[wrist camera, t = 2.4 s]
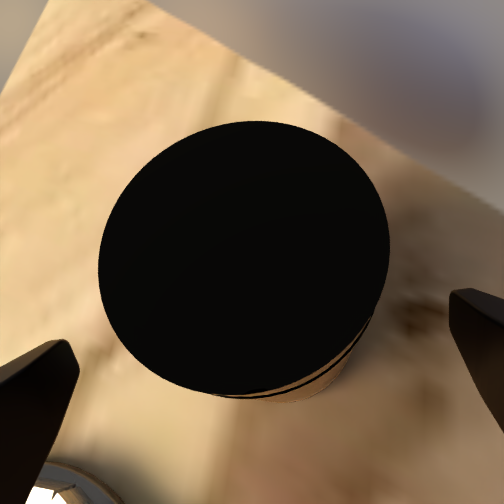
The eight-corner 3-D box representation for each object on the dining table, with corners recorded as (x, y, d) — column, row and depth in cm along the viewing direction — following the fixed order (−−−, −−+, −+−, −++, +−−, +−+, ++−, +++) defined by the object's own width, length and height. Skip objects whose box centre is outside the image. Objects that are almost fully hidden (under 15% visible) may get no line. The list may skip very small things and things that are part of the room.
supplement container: (297, 237, 20) (274, 77, 10) (386, 346, 17) (465, 267, 8) (188, 311, 19) (57, 216, 10) (261, 436, 17) (178, 472, 7)
